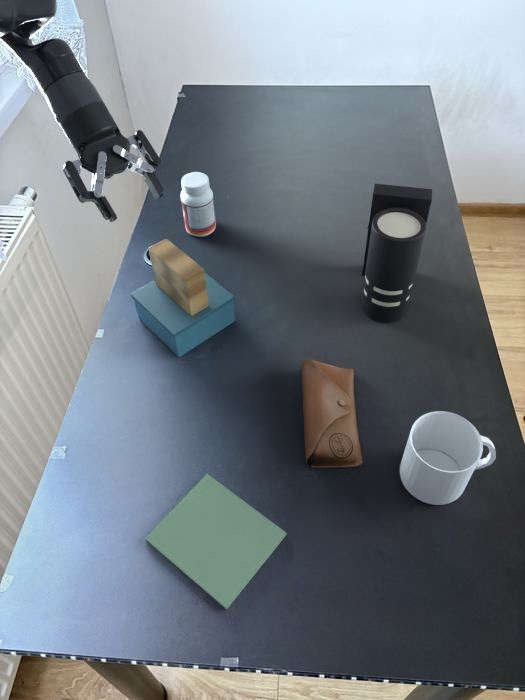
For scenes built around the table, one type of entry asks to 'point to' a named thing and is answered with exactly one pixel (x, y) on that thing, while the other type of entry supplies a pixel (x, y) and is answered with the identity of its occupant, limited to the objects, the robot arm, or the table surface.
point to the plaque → (179, 276)
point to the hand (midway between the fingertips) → (137, 208)
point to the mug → (442, 457)
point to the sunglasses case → (329, 416)
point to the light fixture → (393, 249)
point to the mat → (216, 540)
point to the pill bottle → (197, 204)
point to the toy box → (184, 315)
